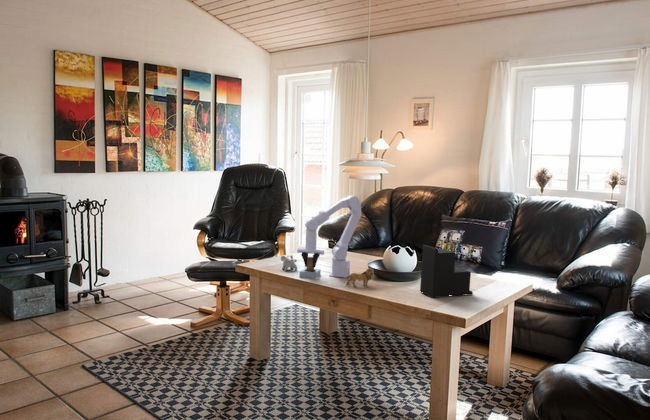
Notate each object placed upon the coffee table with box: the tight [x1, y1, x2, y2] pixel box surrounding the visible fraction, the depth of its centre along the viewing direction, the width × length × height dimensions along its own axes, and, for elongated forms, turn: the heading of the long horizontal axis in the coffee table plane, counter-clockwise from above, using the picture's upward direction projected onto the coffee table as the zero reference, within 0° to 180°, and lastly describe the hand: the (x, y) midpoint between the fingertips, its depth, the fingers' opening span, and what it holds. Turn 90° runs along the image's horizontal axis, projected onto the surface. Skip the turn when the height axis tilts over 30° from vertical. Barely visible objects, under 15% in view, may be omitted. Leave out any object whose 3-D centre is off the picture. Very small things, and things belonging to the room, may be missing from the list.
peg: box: [305, 256, 315, 272], centre depth 283 cm, size 4×4×8 cm
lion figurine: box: [345, 267, 375, 288], centre depth 264 cm, size 15×5×9 cm, turn 107°
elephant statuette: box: [280, 254, 298, 272], centre depth 298 cm, size 9×12×8 cm
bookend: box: [419, 244, 474, 298], centre depth 254 cm, size 23×11×24 cm, turn 112°
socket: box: [299, 267, 321, 279], centre depth 284 cm, size 9×9×3 cm
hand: (310, 266), depth 283 cm, fingers closed on peg, 4 cm apart
